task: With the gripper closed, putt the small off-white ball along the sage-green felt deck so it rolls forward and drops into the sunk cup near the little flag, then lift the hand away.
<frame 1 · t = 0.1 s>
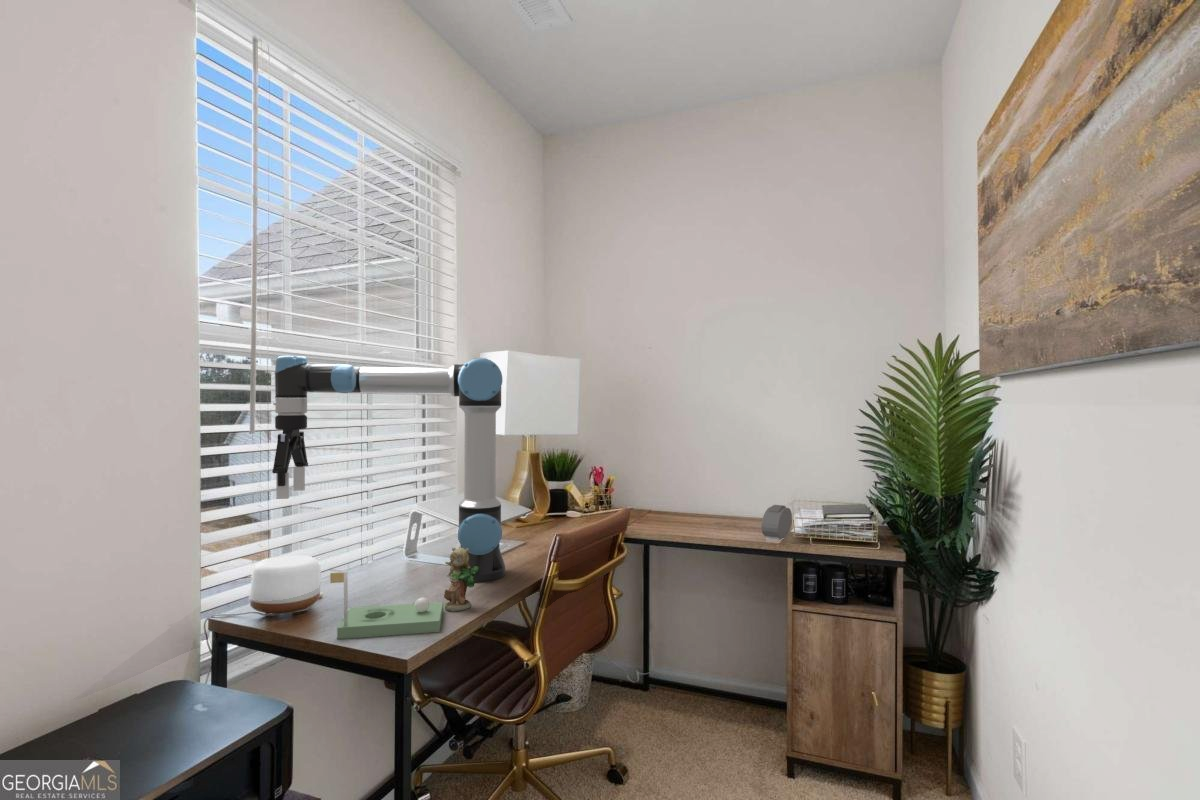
hand: (291, 494, 158), 28 cm above the table, fingers open, 13 cm apart
alarm clock: (777, 539, 228), on the table
ball: (421, 605, 142), point 4 cm above the table, touching green
figurine: (461, 608, 152), on the table
flag: (345, 636, 134), resting on green
green: (393, 624, 141), on the table
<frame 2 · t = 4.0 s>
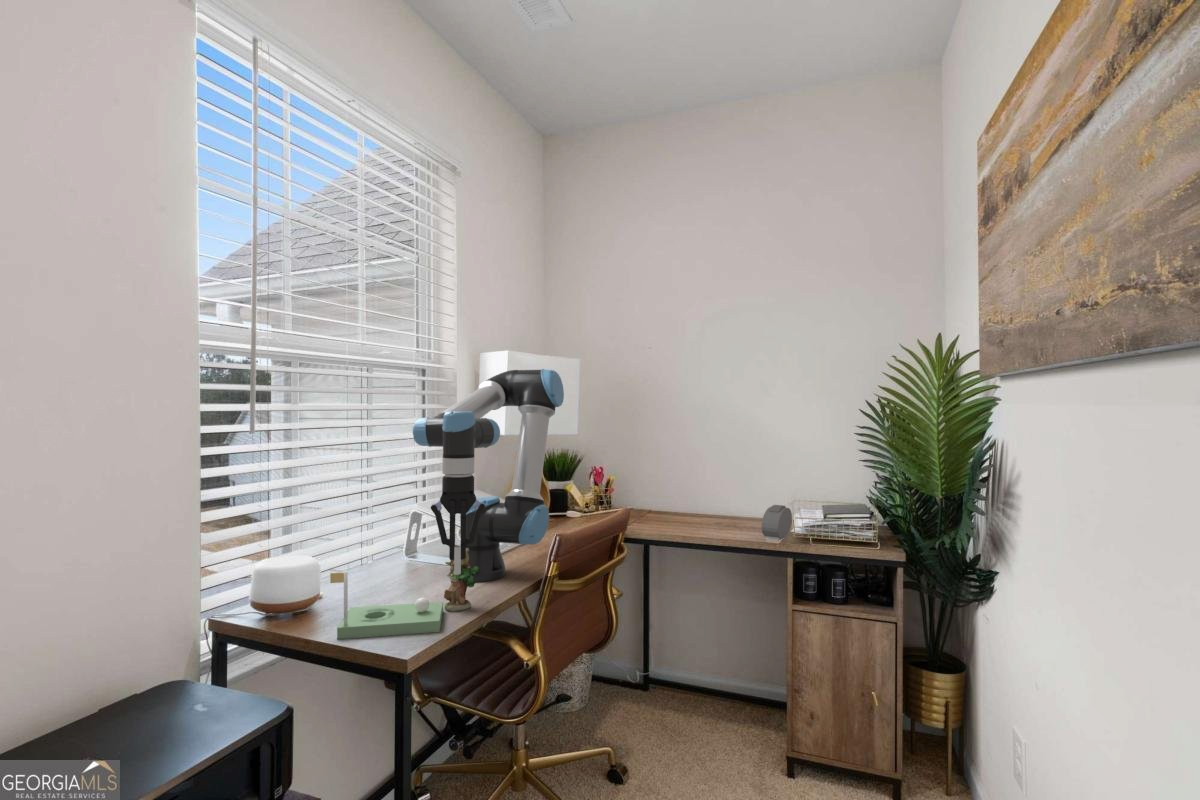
hand: (457, 572, 143), 12 cm above the table, fingers closed
nothing on the table moved.
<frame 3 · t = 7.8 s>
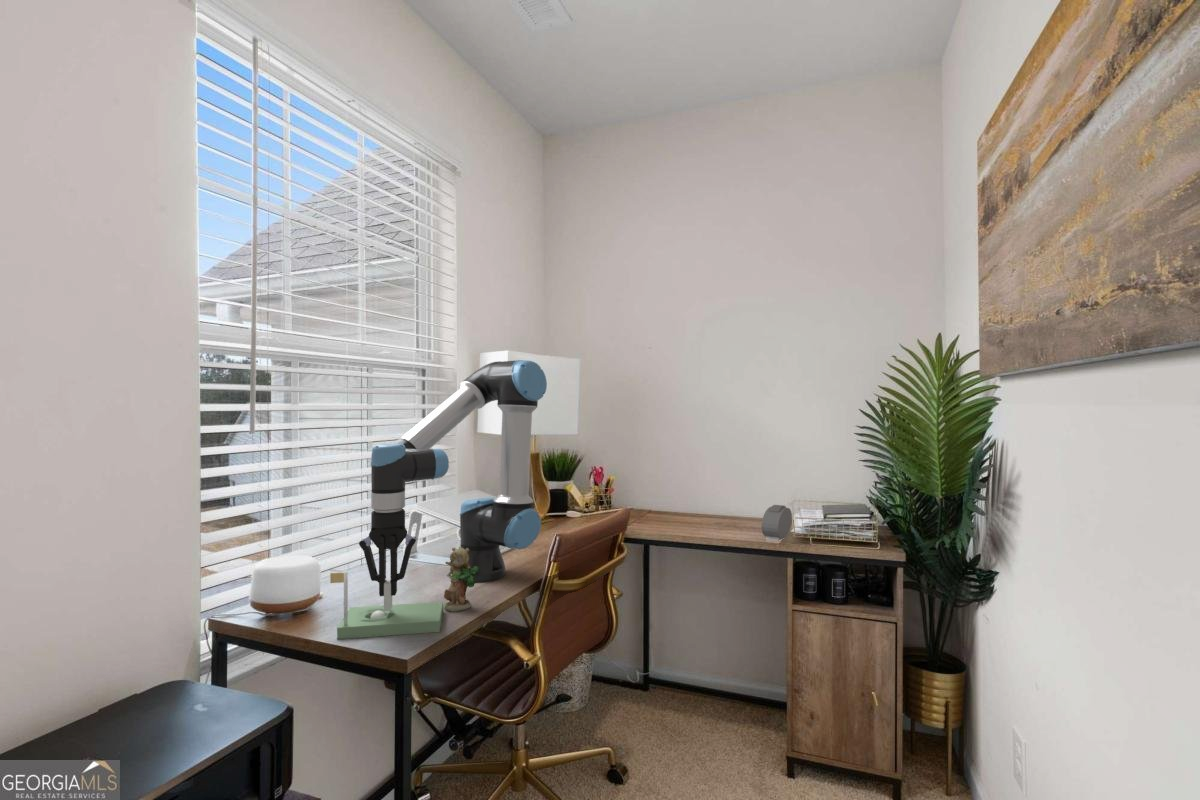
hand: (388, 609, 141), 4 cm above the table, fingers closed
ball: (377, 618, 140), point 2 cm above the table, tilted 36°
everything else where it was.
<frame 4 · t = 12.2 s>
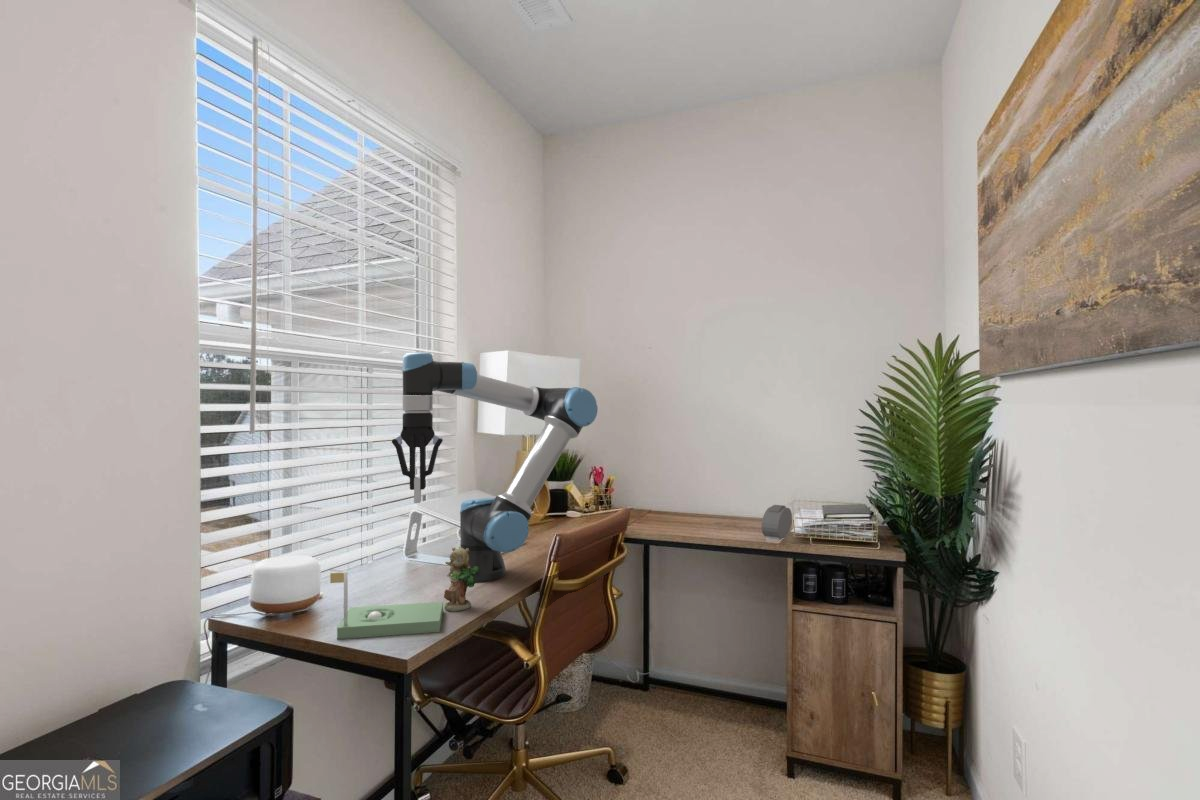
hand: (417, 502, 156), 26 cm above the table, fingers closed
ball: (374, 618, 140), point 2 cm above the table, tilted 29°
everything else where it was.
at the end: ball 0.3 cm from the target spot in the green, point 1.7 cm above the green's base; the gripper is holding nothing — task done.
